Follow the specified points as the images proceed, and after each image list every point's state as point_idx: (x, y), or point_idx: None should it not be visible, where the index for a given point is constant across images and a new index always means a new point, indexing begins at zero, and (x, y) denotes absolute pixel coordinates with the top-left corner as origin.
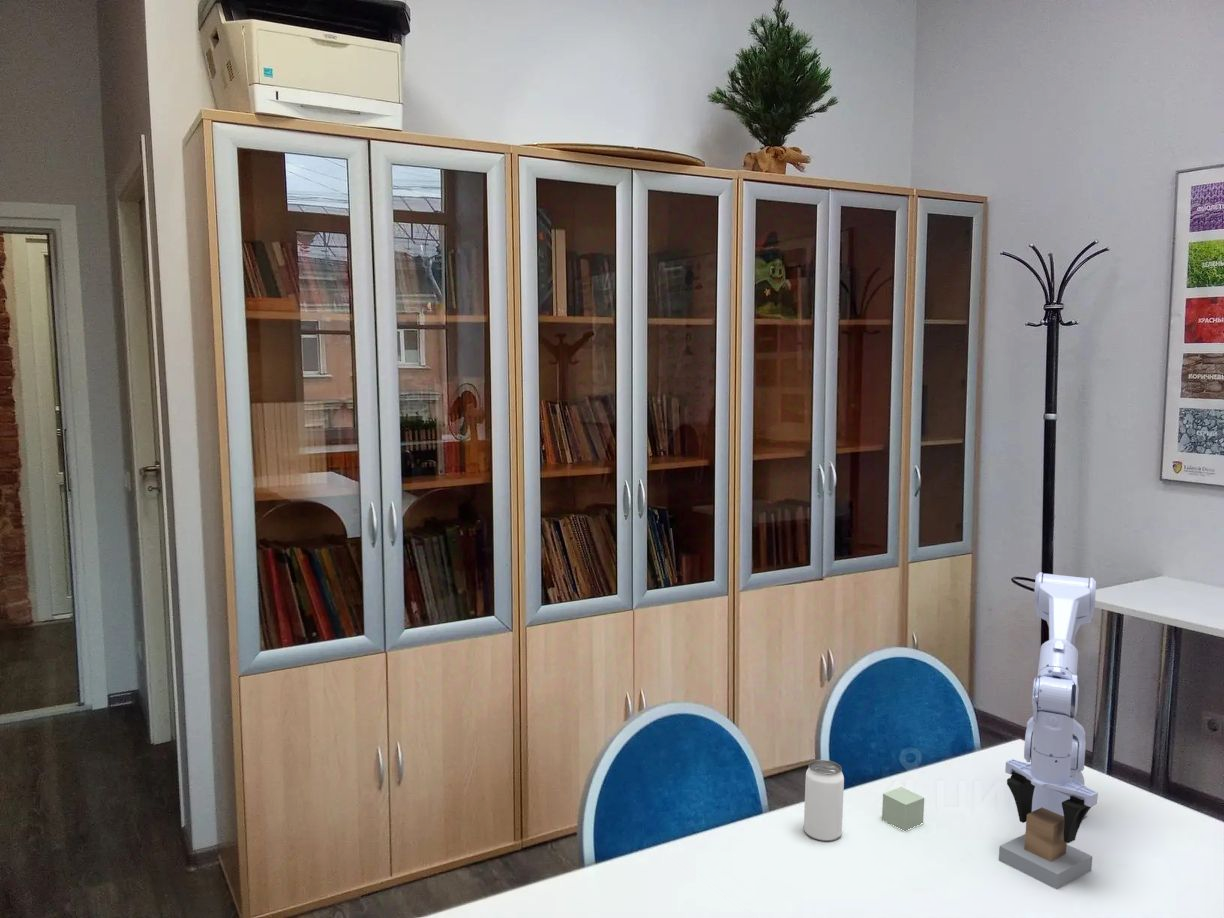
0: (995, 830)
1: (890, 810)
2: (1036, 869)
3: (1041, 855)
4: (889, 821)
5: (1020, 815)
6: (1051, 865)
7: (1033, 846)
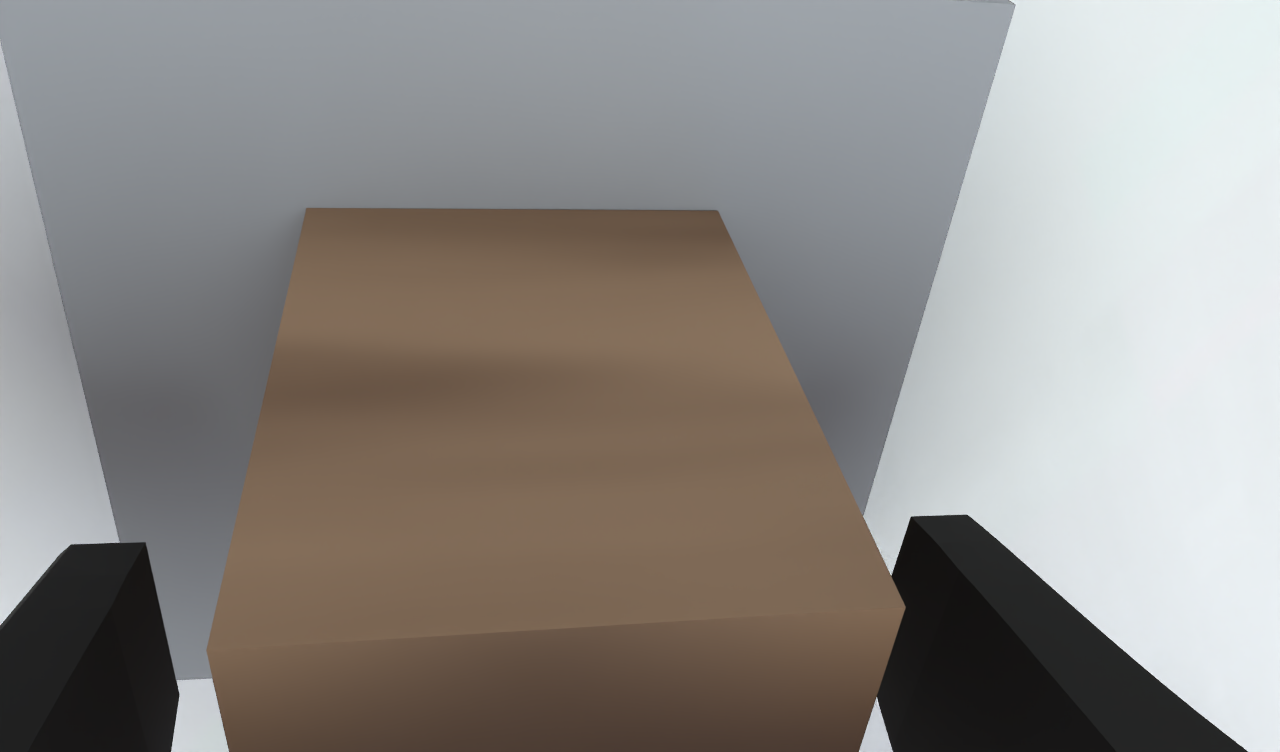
0: (1124, 462)
1: None
2: None
3: (458, 220)
4: None
5: (1010, 583)
6: (232, 119)
7: (602, 261)
